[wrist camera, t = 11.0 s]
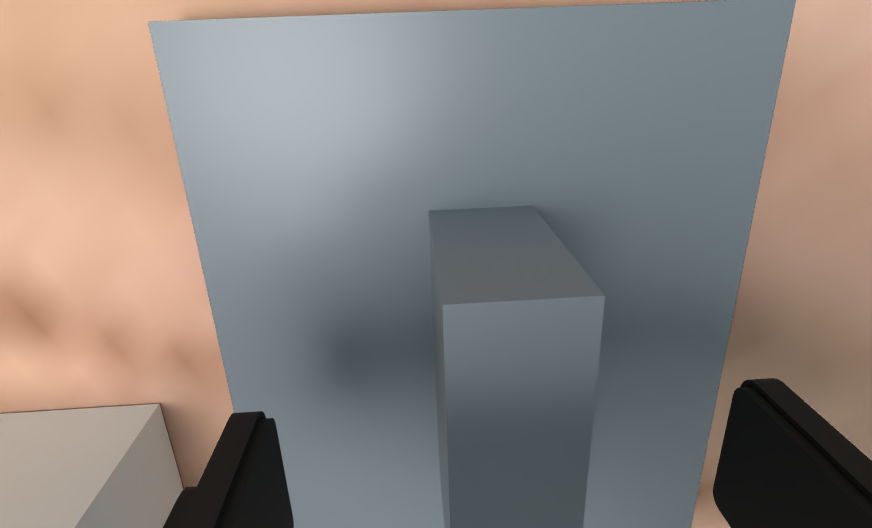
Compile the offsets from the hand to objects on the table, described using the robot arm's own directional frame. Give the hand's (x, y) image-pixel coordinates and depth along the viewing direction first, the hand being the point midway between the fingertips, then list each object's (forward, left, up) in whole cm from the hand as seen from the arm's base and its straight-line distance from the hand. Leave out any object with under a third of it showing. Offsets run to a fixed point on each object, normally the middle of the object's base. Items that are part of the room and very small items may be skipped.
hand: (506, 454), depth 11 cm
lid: (0, 0, -6) cm, 6 cm away
